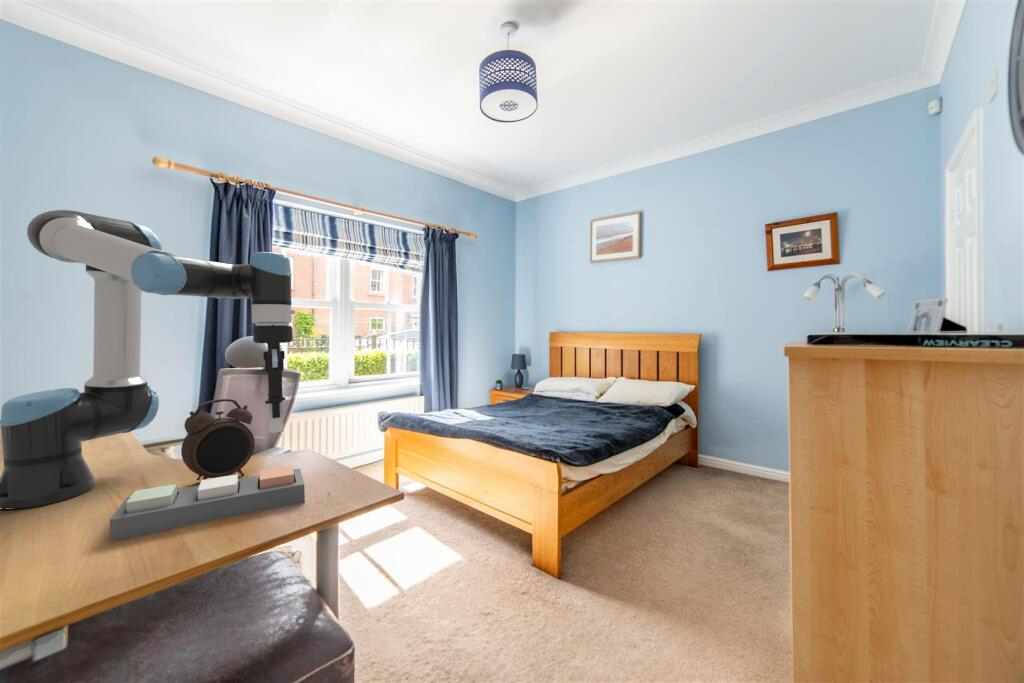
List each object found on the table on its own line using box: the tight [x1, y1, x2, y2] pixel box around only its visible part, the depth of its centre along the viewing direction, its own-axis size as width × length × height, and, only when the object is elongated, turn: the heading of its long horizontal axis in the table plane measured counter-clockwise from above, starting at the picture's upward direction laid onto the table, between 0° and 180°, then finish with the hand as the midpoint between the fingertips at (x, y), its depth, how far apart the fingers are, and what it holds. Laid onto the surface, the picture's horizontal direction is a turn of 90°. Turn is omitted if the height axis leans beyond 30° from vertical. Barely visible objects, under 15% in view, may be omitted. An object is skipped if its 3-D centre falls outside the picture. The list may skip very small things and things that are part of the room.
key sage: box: [126, 483, 178, 513], centre depth 80 cm, size 6×6×3 cm
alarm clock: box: [180, 398, 256, 481], centre depth 102 cm, size 15×7×20 cm, turn 143°
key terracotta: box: [259, 465, 294, 489], centre depth 91 cm, size 6×6×3 cm
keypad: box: [109, 468, 306, 543], centre depth 86 cm, size 11×31×4 cm, turn 122°
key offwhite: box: [198, 473, 239, 500], centre depth 86 cm, size 6×6×3 cm
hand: (276, 431), depth 91 cm, fingers closed
